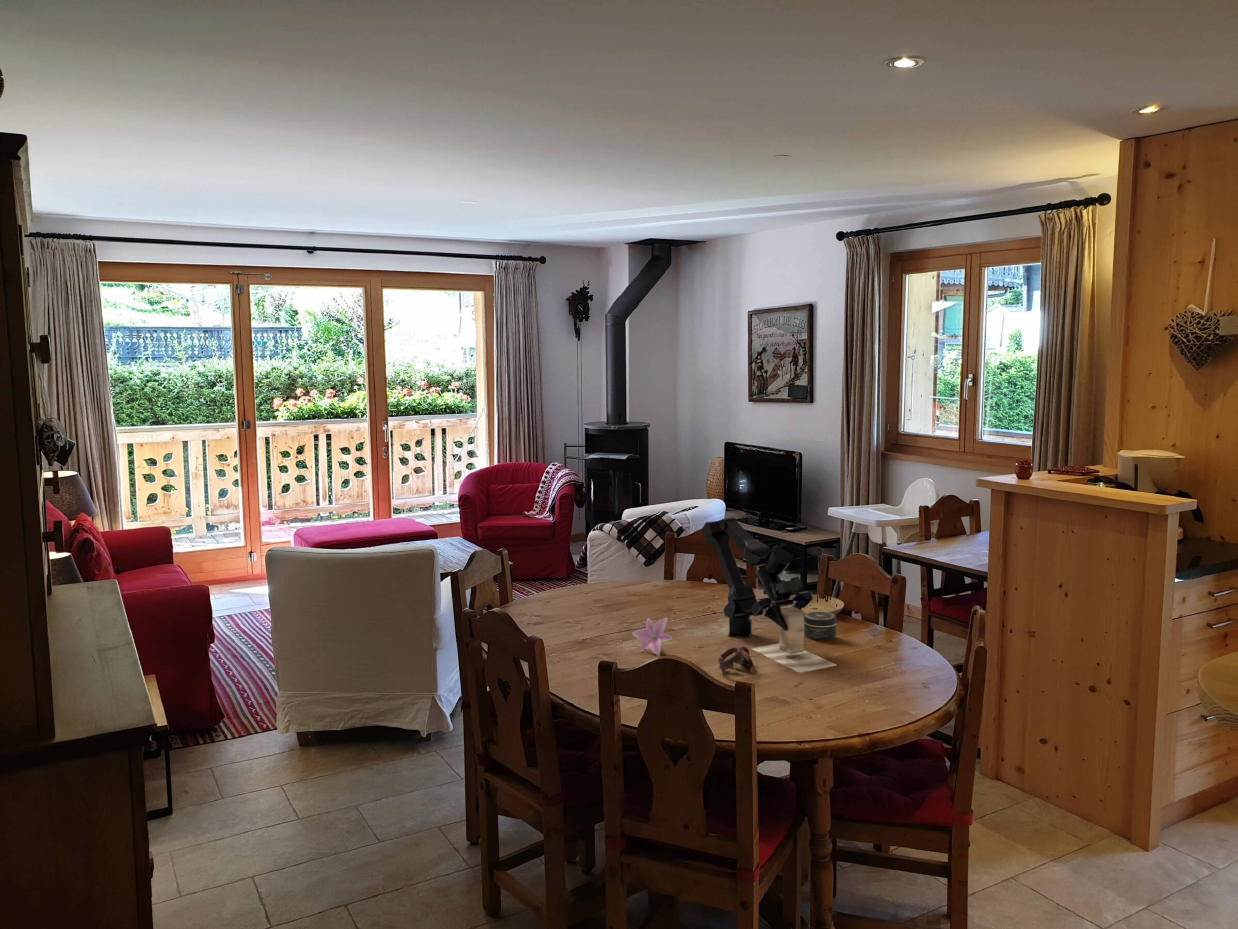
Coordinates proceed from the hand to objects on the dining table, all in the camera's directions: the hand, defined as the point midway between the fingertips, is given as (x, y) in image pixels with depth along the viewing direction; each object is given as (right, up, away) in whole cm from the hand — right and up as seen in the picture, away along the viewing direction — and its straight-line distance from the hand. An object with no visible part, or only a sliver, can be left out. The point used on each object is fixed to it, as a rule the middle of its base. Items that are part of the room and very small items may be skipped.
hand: (794, 628), depth 262 cm
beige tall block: (0, -7, +2) cm, 7 cm away
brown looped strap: (-17, -11, -7) cm, 22 cm away
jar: (+12, -7, +21) cm, 25 cm away
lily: (-40, -9, +13) cm, 43 cm away
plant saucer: (+15, -4, +51) cm, 53 cm away
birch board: (0, -9, +2) cm, 10 cm away
